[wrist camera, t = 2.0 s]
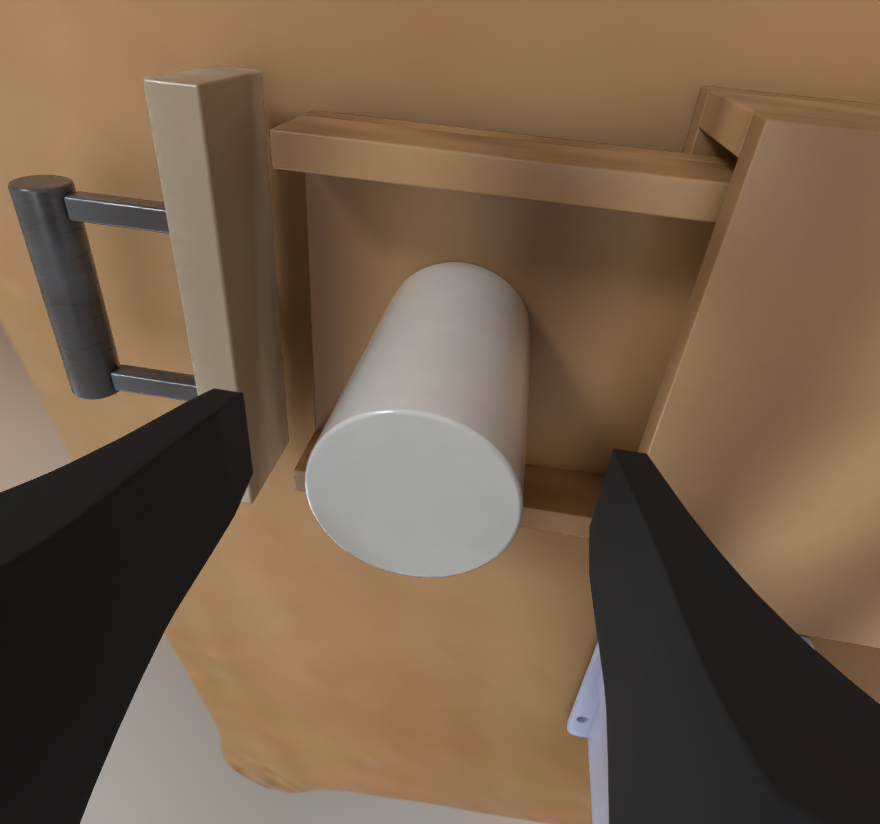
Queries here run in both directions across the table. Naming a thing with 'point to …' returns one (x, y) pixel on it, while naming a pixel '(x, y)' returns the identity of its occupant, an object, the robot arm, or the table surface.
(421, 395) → the spice jar
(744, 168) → the cabinet
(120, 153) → the table surface
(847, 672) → the table surface
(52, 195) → the drawer
